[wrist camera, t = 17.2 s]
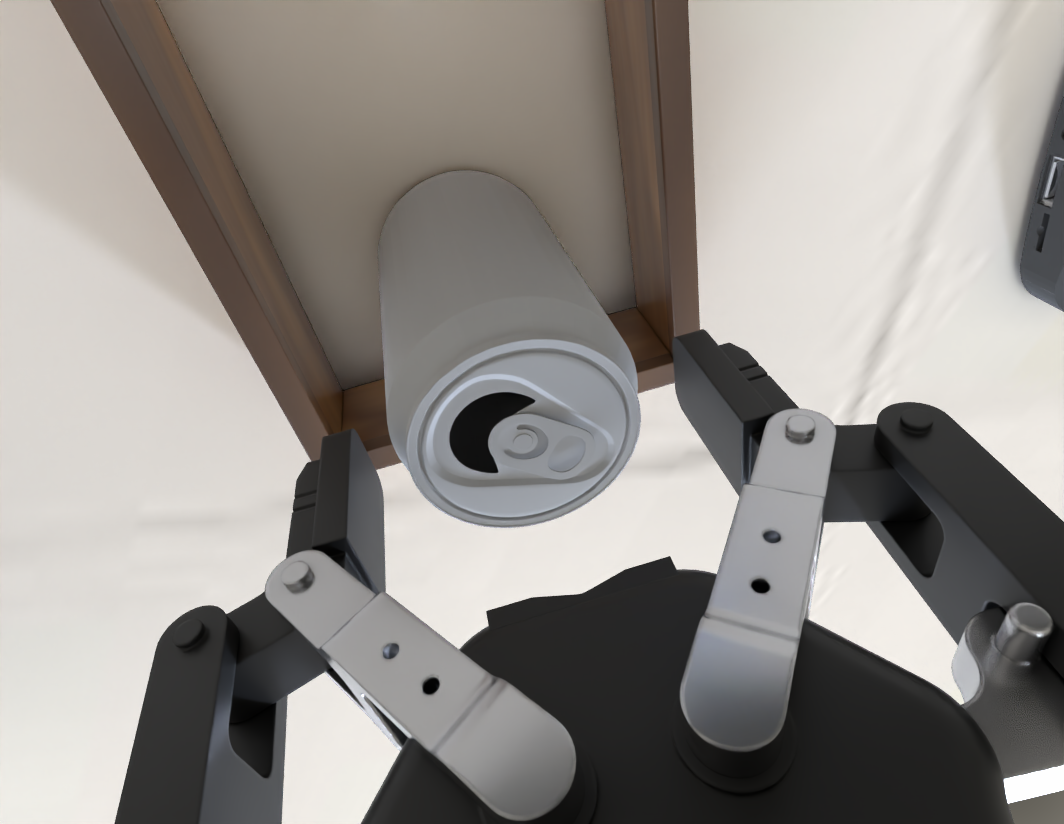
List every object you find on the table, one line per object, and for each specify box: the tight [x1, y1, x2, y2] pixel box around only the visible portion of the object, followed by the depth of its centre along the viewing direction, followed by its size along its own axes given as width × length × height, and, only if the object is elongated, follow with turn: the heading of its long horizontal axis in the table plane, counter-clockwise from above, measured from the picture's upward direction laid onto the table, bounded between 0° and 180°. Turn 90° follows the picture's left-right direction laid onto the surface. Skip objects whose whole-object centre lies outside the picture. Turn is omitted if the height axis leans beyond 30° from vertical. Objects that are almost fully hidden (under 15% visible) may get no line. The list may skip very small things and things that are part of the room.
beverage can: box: [378, 170, 641, 528], centre depth 20 cm, size 6×6×12 cm
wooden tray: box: [50, 0, 700, 470], centre depth 19 cm, size 15×21×5 cm
